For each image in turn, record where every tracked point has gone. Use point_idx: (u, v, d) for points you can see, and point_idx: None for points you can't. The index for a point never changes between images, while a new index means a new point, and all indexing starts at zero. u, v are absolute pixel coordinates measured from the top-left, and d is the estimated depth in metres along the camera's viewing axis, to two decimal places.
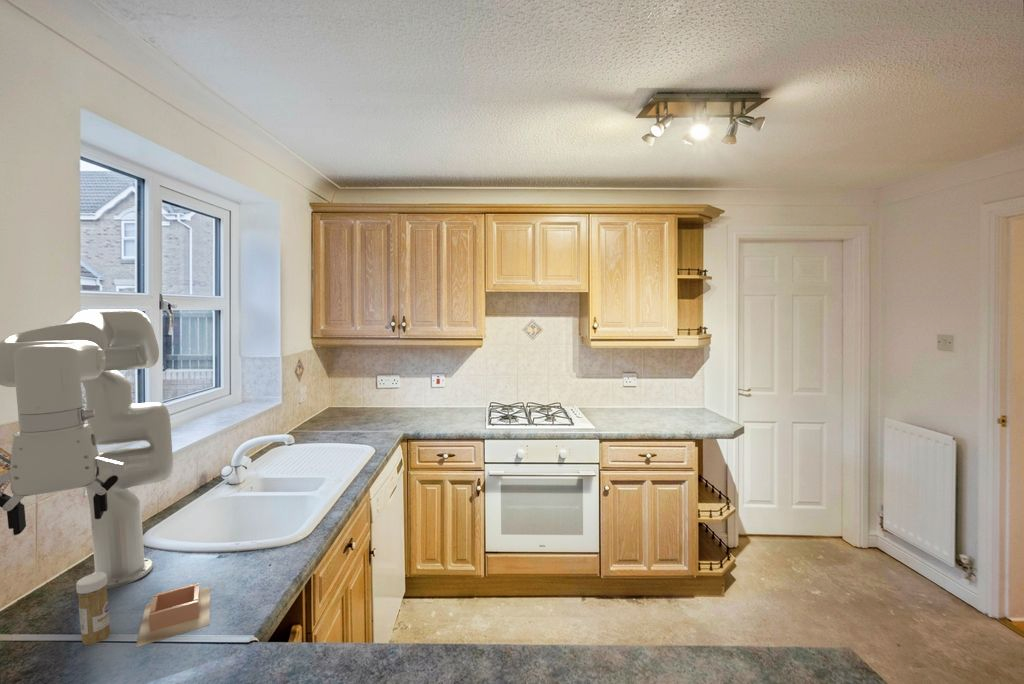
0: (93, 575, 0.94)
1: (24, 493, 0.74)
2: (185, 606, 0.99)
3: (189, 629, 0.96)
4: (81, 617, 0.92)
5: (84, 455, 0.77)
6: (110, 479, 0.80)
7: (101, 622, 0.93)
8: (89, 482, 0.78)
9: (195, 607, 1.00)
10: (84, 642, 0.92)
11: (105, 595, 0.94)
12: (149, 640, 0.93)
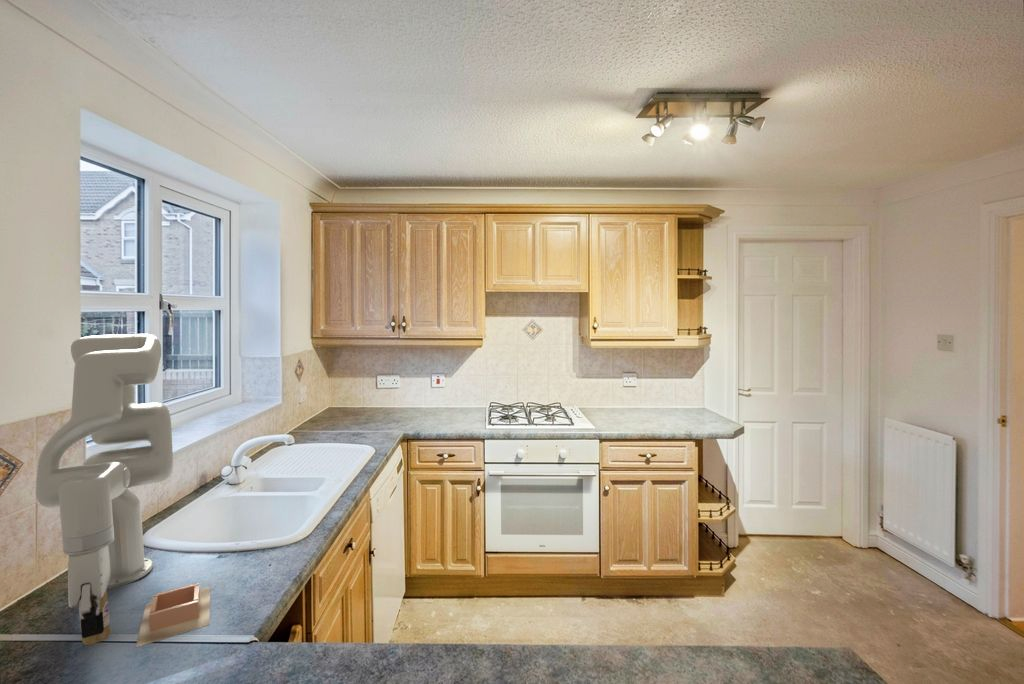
0: None
1: (102, 595, 0.92)
2: (185, 606, 0.99)
3: (189, 629, 0.96)
4: None
5: (109, 555, 0.98)
6: None
7: None
8: None
9: (195, 607, 1.00)
10: (84, 642, 0.92)
11: (105, 595, 0.94)
12: (149, 640, 0.93)
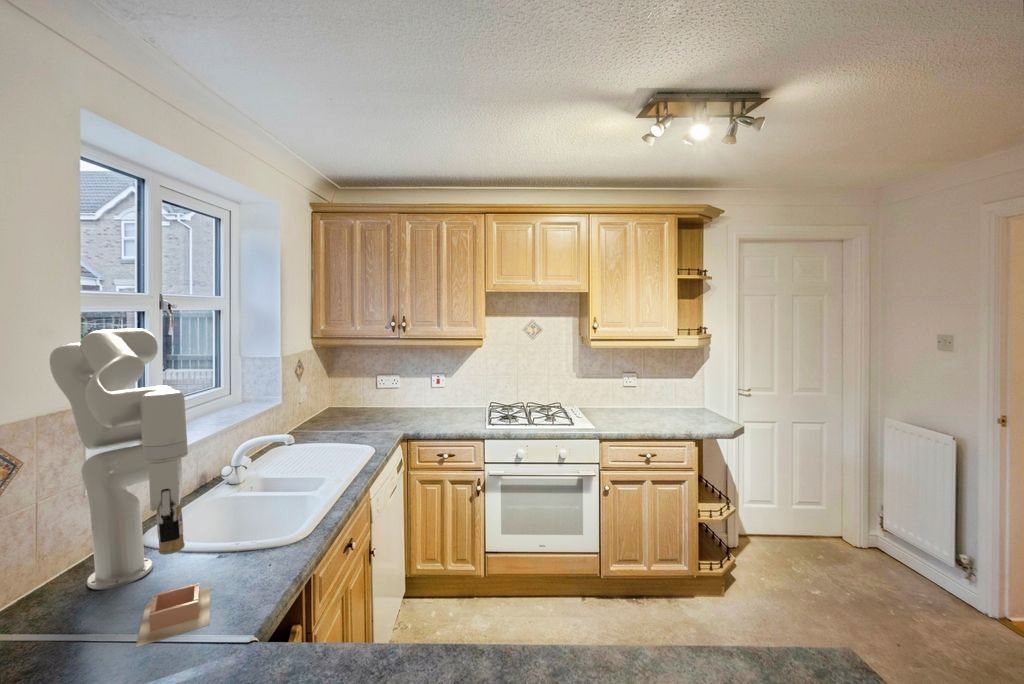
0: None
1: (179, 503, 0.98)
2: (185, 606, 0.99)
3: (189, 629, 0.96)
4: None
5: None
6: None
7: None
8: None
9: (195, 607, 1.00)
10: (161, 547, 0.98)
11: (180, 505, 1.00)
12: (149, 640, 0.93)
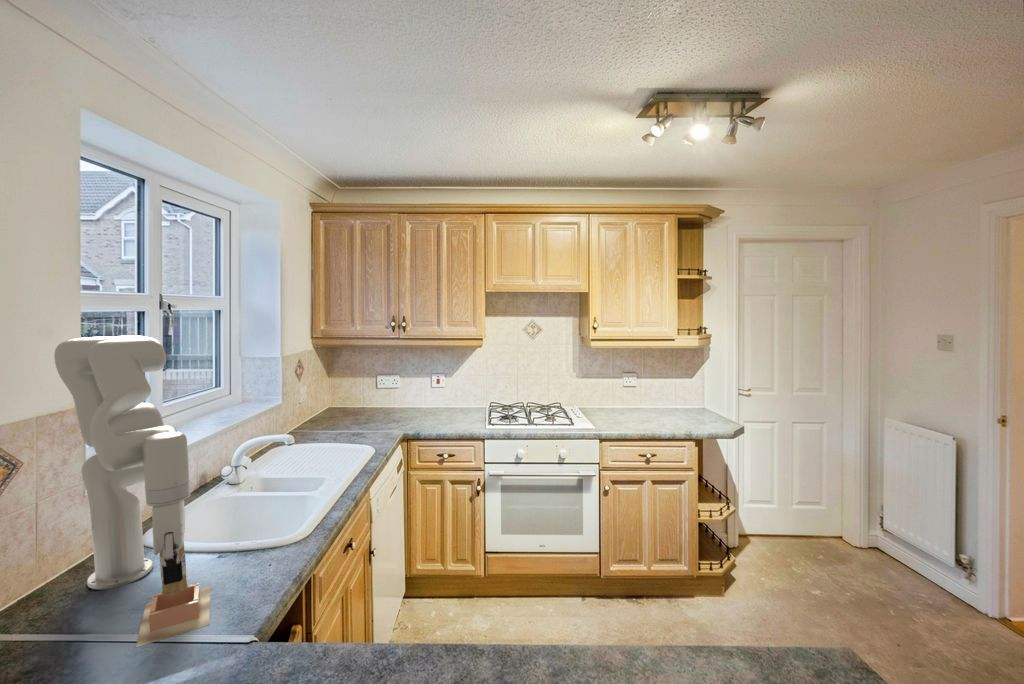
0: None
1: (182, 545, 0.98)
2: (185, 606, 0.99)
3: (189, 629, 0.96)
4: (162, 565, 0.98)
5: None
6: None
7: None
8: None
9: (195, 607, 1.00)
10: (165, 589, 0.99)
11: (183, 546, 1.01)
12: (149, 640, 0.93)
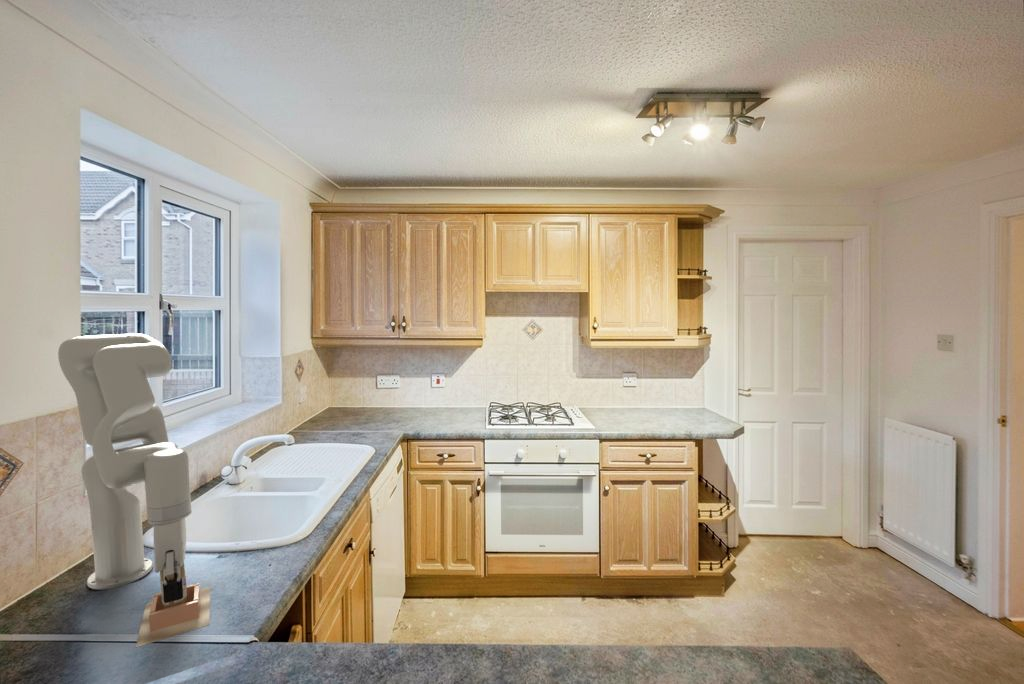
0: None
1: (183, 562, 0.99)
2: (185, 606, 0.99)
3: (189, 629, 0.96)
4: None
5: None
6: None
7: None
8: None
9: (195, 607, 1.00)
10: None
11: (183, 569, 1.01)
12: (149, 640, 0.93)
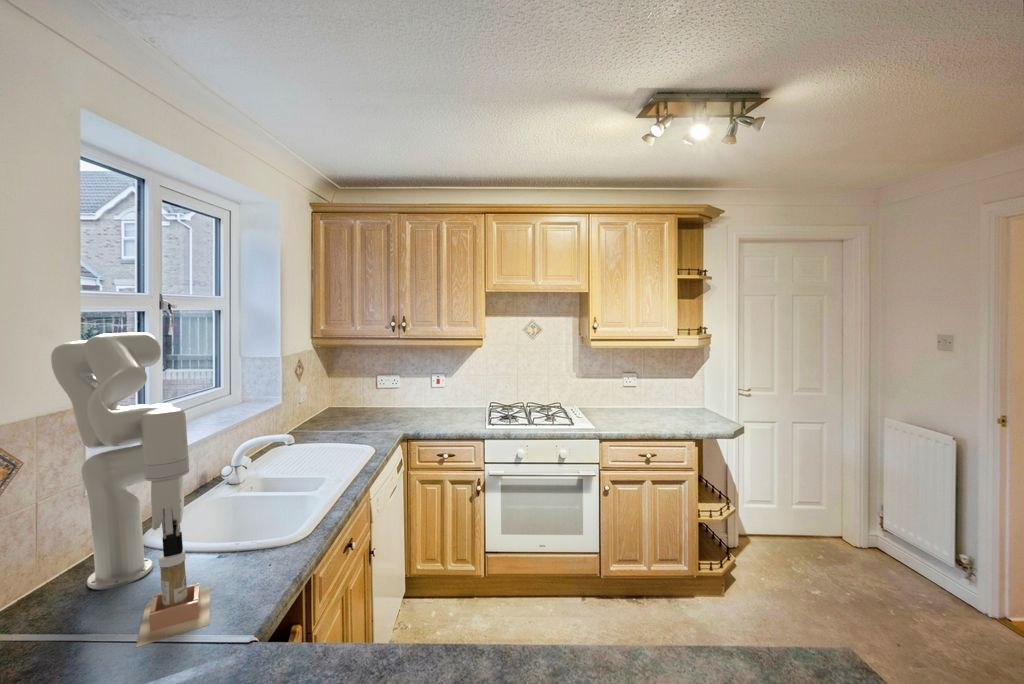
0: None
1: (181, 521, 0.98)
2: (185, 606, 0.99)
3: (189, 629, 0.96)
4: (163, 589, 0.99)
5: None
6: None
7: (181, 594, 1.00)
8: None
9: (195, 607, 1.00)
10: None
11: (184, 569, 1.01)
12: (149, 640, 0.93)
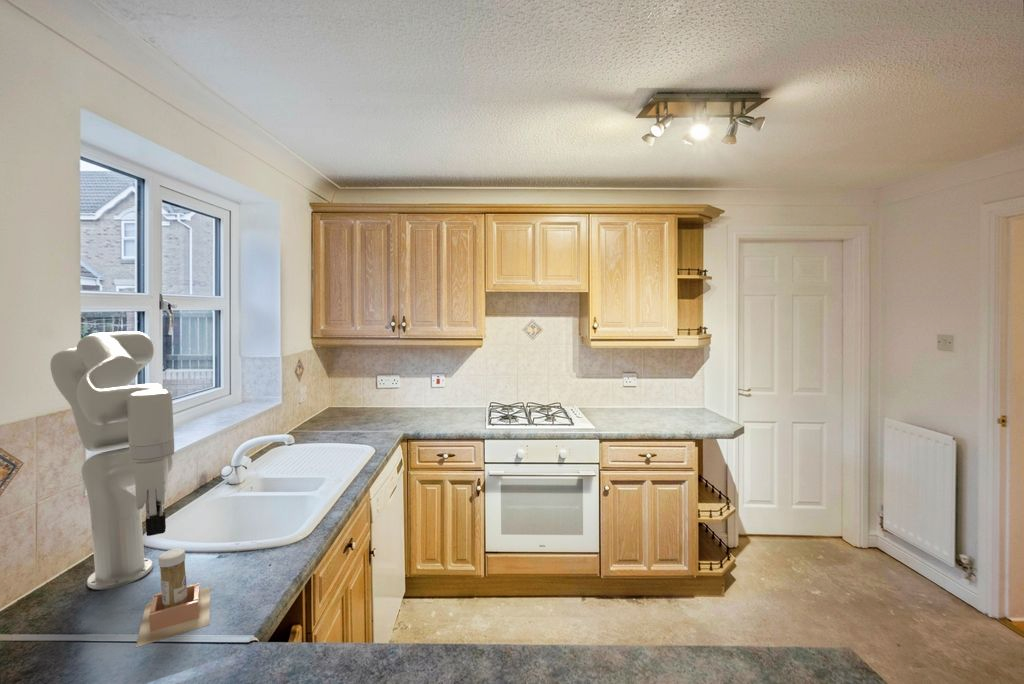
0: (172, 551, 1.01)
1: (164, 502, 0.99)
2: (185, 606, 0.99)
3: (189, 629, 0.96)
4: (163, 589, 0.99)
5: None
6: None
7: (181, 594, 1.00)
8: None
9: (195, 607, 1.00)
10: None
11: (184, 569, 1.01)
12: (149, 640, 0.93)
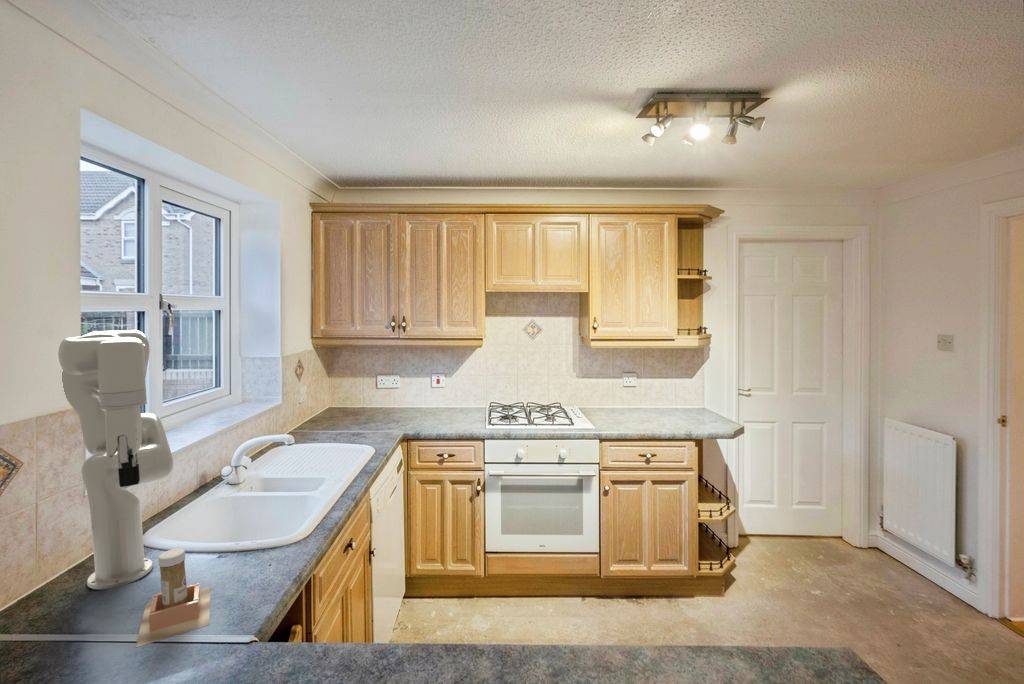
0: (172, 550, 1.01)
1: (136, 451, 0.98)
2: (185, 606, 0.99)
3: (189, 629, 0.96)
4: (163, 589, 0.99)
5: None
6: None
7: (181, 594, 1.00)
8: None
9: (195, 607, 1.00)
10: None
11: (184, 569, 1.01)
12: (149, 640, 0.93)
